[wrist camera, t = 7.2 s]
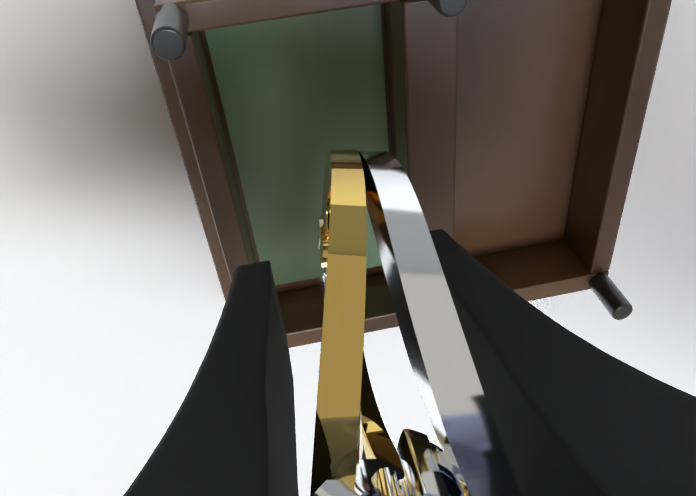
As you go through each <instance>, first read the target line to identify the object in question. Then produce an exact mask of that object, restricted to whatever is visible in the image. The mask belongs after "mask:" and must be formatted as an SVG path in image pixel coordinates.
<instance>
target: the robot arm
mask: <svg viewBox="0 0 696 496" xmlns="http://www.w3.org/2000/svg"><path fill="white" fill-rule="evenodd" d="M429 232H430V235H431V238H432V240H433V243H434V246H435V249H436V252H437V255H438V258H439V261H440V264H441V267H442V270H443V273H444V276H445V279H446V282H447V285H448V288H449V291H450V294H451V297H452V300H453V303H454V306H455V309H456V312H457V315H458V318H459V321H460V324H461V327H462V330H463V333H464V336H465V339H466V342H467V345H468V348H469V351H470V354H471V357H472V360H473V363H474V366H475V369H476V372H477V375H478V378H479V381H480V383H481V386H482V389H483V392H484V395H485V398H486V401H487V404H488V407H489V410H490V413H491V416H492V418H493V421H494V424H495V427H496V430H497V432H498V435H499V438H500V441H501V443H502V446H503V449H504V451H505V454H506V456H507V459H508V462H509V464H510V467H511V469H512V472H513V474H514V477H515V479H516V482H517V484H518V487H519V489H520V492H521V494H522V496H696V397H695V396H692V395H690V394H688V393H685V392H683V391H681V390H679V389H676V388H674V387H672V386H670V385H668V384H666V383H664V382H661V381H659V380H657V379H655V378H653V377H651V376H649V375H647V374H645V373H643V372H641V371H639V370H637V369H635V368H633V367H631V366H630V365H628V364H626V363H624V362H622V361H620V360H618V359H616V358H614V357H612V356H611V355H609V354H607V353H605V352H603V351H602V350H600V349H598V348H597V347H595V346H593V345H592V344H590V343H588V342H587V341H585V340H583V339H582V338H580V337H578V336H577V335H575V334H573V333H572V332H570V331H569V330H567V329H565V328H564V327H562V326H561V325H560V324H558V323H557V322H555V321H554V320H552V319H551V318H549V317H548V316H547V315H545V314H544V313H542V312H541V311H540V310H538V309H537V308H535V307H534V306H533V305H531V304H530V303H529V302H527V301H526V300H525V299H524V298H522V297H521V296H520V295H518V294H517V293H516V292H515V291H513V290H512V289H511V288H510V287H508V286H507V285H506V284H505V283H503V282H502V281H501V280H500V279H498V278H497V277H496V276H495V275H494V274H492V273H491V272H490V271H489V270H488V269H487V268H485V267H484V266H483V265H482V264H481V263H480V262H479V261H477V260H476V259H475V258H474V257H473V256H472V255H471V254H470V253H468V252H467V251H466V250H465V249H464V248H463V247H462V246H461V245H460V244H459V243H457V242H456V241H455V240H454V239H453V238H452V237H451V236H450V235H449V234H448V233H447V232H445V231H444V230H443V229H438V230H432V231H429ZM124 496H299V495H298V483H297V459H296V434H295V411H294V388H293V376H292V369H291V362H290V356H289V349H288V343H287V336H286V331H285V327H284V322H283V318H282V313H281V309H280V305H279V300H278V296H277V291H276V287H275V282H274V278H273V274H272V269H271V265H270V260H269V261H263V262H258V263H252V264H247V265H241V266H238V267H237V268H236V269H235V271H234V272H233V277H232V282H231V285H230V289H229V293H228V296H227V300H226V303H225V306H224V309H223V312H222V315H221V318H220V320H219V323H218V326H217V328H216V331H215V333H214V336H213V338H212V341H211V344H210V346H209V349H208V351H207V353H206V356H205V358H204V360H203V362H202V364H201V366H200V368H199V371H198V373H197V375H196V377H195V379H194V381H193V383H192V386H191V388H190V390H189V392H188V393H187V395H186V397H185V399H184V401H183V403H182V405H181V407H180V409H179V410H178V412H177V414H176V416H175V417H174V419H173V421H172V423H171V424H170V426H169V428H168V430H167V431H166V433H165V435H164V436H163V438H162V439H161V441H160V443H159V444H158V446H157V447H156V449H155V450H154V452H153V453H152V455H151V457H150V458H149V460H148V461H147V463H146V464H145V466H144V467H143V469H142V470H141V472H140V473H139V475H138V476H137V478H136V479H135V480H134V482H133V483H132V485H131V486H130V488H129V489H128V490H127V492H126V493H125V494H124Z"/></svg>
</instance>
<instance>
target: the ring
mask: <svg viewBox="0 0 696 496" xmlns="http://www.w3.org/2000/svg"><path fill="white" fill-rule="evenodd" d="M366 207H367V210H368V213H369V216H370V220H371V223H372V227H373V231H374V234H375V238H376V242H377V246H378V250H379V254H380V258H381V262H382V266H383V269H384V273H385V277H386V281H387V285H388V288H389V292H390V296H391V299H392V303H393V306H394V310H395V313H396V317H397V320H398V324H399V327H400V331H401V334H402V337H403V341H404V344H405V347H406V350H407V353H408V357H409V360H410V363H411V366H412V369H413V372H414V375H415V378H416V381H417V384H418V387H419V390H420V392H421V395H422V398H423V401H424V404H425V406H426V409H427V412H428V414H429V417H430V420H431V422H432V425H433V427H434V430H435V432H436V435H437V437H438V440H439V442H440V444H441V447H442V449H443V450H442V449H440V448H439V447H438V446H436V445H434V444H432V443H430V442H429V440H428V437H427V435H424V434H422V433H420V432H417V431H414V430H410V429H404V430H403V432H402V434H401V436H400V439H399V443H398V448H397V450H398V453H397V451H396V449H395V447H394V445H393V443H392V441H391V439H390V437H389V435H388V433H387V431H386V428H385V426H384V423H383V421H382V418H381V416H380V413H379V410H378V407H377V404H376V401H375V398H374V394H373V391H372V387H371V384H370V380H369V376H368V372H367V367H366V362H365V358H364V352H363V344H364V321H365V295H366V254H367V219H366ZM317 248H318V249H319V262H320V302H321V321H322V341H321V355H320V368H319V382H318V395H317V409H316V423H315V437H314V451H313V466H312V480H311V496H522V494H521V492H520V489H519V487H518V484H517V482H516V479H515V477H514V474H513V472H512V469H511V467H510V464H509V462H508V459H507V456H506V454H505V451H504V449H503V446H502V443H501V441H500V438H499V435H498V432H497V430H496V427H495V424H494V421H493V418H492V416H491V413H490V410H489V407H488V404H487V401H486V398H485V395H484V392H483V389H482V386H481V383H480V381H479V378H478V375H477V372H476V369H475V366H474V363H473V360H472V357H471V354H470V351H469V348H468V345H467V342H466V339H465V336H464V333H463V330H462V327H461V324H460V321H459V318H458V315H457V312H456V309H455V306H454V303H453V300H452V297H451V294H450V291H449V288H448V285H447V282H446V279H445V276H444V273H443V270H442V267H441V264H440V261H439V258H438V255H437V252H436V249H435V246H434V243H433V240H432V238H431V235H430V232H429V229H428V226H427V223H426V220H425V217H424V215H423V212H422V209H421V207H420V204H419V201H418V199H417V196H416V194H415V191H414V189H413V187H412V185H411V183H410V180H409V178H408V176H407V175H406V173H405V171H404V169H403V168H402V166H401V165H400V163H399V162H398V161H397V159H396V158H395V157H394V156H393V155H391V154H390V153H388V152H386V151H370V150H356V149H339V150H329V151H328V155H327V160H326V167H325V176H324V186H323V199H322V213H321V217H318V223H317ZM398 454H399V455H398Z"/></svg>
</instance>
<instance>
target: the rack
mask: <svg viewBox="0 0 696 496" xmlns="http://www.w3.org/2000/svg"><path fill="white" fill-rule="evenodd" d="M135 2H136V5H137V9H138V12H139V15H140V18H141V22H142V25H143V28H144V32H145V35H146V38H147V42H148V45H149V48H150V52H151V55H152V58H153V62H154V65H155V68H156V72H157V75H158V78H159V82H160V85H161V88H162V92H163V95H164V98H165V102H166V105H167V108H168V111H169V115H170V118H171V121H172V125H173V128H174V131H175V135H176V138H177V141H178V145H179V148H180V151H181V155H182V158H183V161H184V165H185V168H186V171H187V175H188V178H189V181H190V185H191V188H192V191H193V195H194V198H195V201H196V204H197V208H198V211H199V214H200V218H201V221H202V224H203V228H204V231H205V234H206V238H207V241H208V244H209V248H210V251H211V254H212V258H213V261H214V264H215V268H216V271H217V274H218V278H219V281H220V284H221V288H222V291H223V294H224V297H225V301H226V300H227V296H228V293H229V289H230V285H231V282H232V277H233V272H234V271H235V269H236V268H237V267H238V266H241V265H247V264H252V263H258V262H263V261H269V260H270V265H271V269H272V274H273V278H274V282H275V287H276V291H277V296H278V300H279V305H280V309H281V313H282V318H283V322H284V327H285V331H286V336H287V343H288V348H290V347H295V346H300V345H306V344H311V343H316V342H321V341H322V321H321V302H320V262H319V249H318V248H317V223H318V217H321V213H322V199H323V186H324V176H325V167H326V160H327V155H328V151H329V150H339V149H356V150H370V151H386V152H388V153H390V154H391V155H393V156H394V157H395V158H396V159H397V161H398V162H399V163H400V165H401V166H402V168H403V169H404V171H405V173H406V175H407V176H408V178H409V180H410V183H411V185H412V187H413V189H414V191H415V194H416V196H417V199H418V201H419V204H420V207H421V209H422V212H423V215H424V217H425V220H426V223H427V226H428V229H429V231H432V230H438V229H443V230H444V231H445V232H447V233H448V234H449V235H450V236H451V237H452V238H453V239H454V240H455V241H456V242H457V243H459V244H460V245H461V246H462V247H463V248H464V249H465V250H466V251H467V252H468V253H470V254H471V255H472V256H473V257H474V258H475V259H476V260H477V261H479V262H480V263H481V264H482V265H483V266H484V267H485V268H487V269H488V270H489V271H490V272H491V273H492V274H494V275H495V276H496V277H497V278H498V279H500V280H501V281H502V282H503V283H505V284H506V285H507V286H508V287H510V288H511V289H512V290H513V291H515V292H516V293H517V294H518V295H520V296H521V297H522V298H524V299H525V300H526V301H531V300H536V299H541V298H546V297H551V296H556V295H561V294H567V293H572V292H577V291H582V290H587V289H592V290H593V292H594V293H595V294H596V296H597V297H598V298H599V300H600V301H601V302H602V304H603V305H604V306H605V308H606V309H607V310H608V312H609V313H610V314H611V316H612V317H613V318H615V319H617V320H621V319H624V318H626V317H628V316H629V315H630V314H631V312H632V305H631V304H630V303H629V302H628V300H627V299H626V298H625V297H624V295H623V294H622V293H621V292H620V290H619V289H618V288H617V287H616V285H615V284H614V283H613V282H612V280H611V279H610V278H609V277H608V273H609V272H608V270H609V268H610V264H611V259H612V255H613V251H614V246H615V242H616V238H617V233H618V229H619V225H620V221H621V216H622V212H623V208H624V203H625V199H626V195H627V191H628V186H629V182H630V178H631V173H632V169H633V165H634V160H635V156H636V152H637V148H638V143H639V139H640V135H641V130H642V126H643V122H644V118H645V113H646V109H647V105H648V100H649V96H650V92H651V88H652V83H653V79H654V75H655V70H656V66H657V62H658V57H659V53H660V49H661V45H662V40H663V36H664V32H665V27H666V23H667V19H668V15H669V10H670V6H671V2H672V0H135ZM366 219H367V254H366V295H365V321H364V333H367V332H372V331H377V330H382V329H387V328H393V327H398V326H399V324H398V320H397V317H396V313H395V310H394V306H393V303H392V299H391V296H390V292H389V288H388V285H387V281H386V277H385V273H384V269H383V266H382V262H381V258H380V254H379V250H378V246H377V242H376V238H375V234H374V231H373V227H372V223H371V220H370V216H369V213H368V210H367V207H366Z"/></svg>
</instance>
